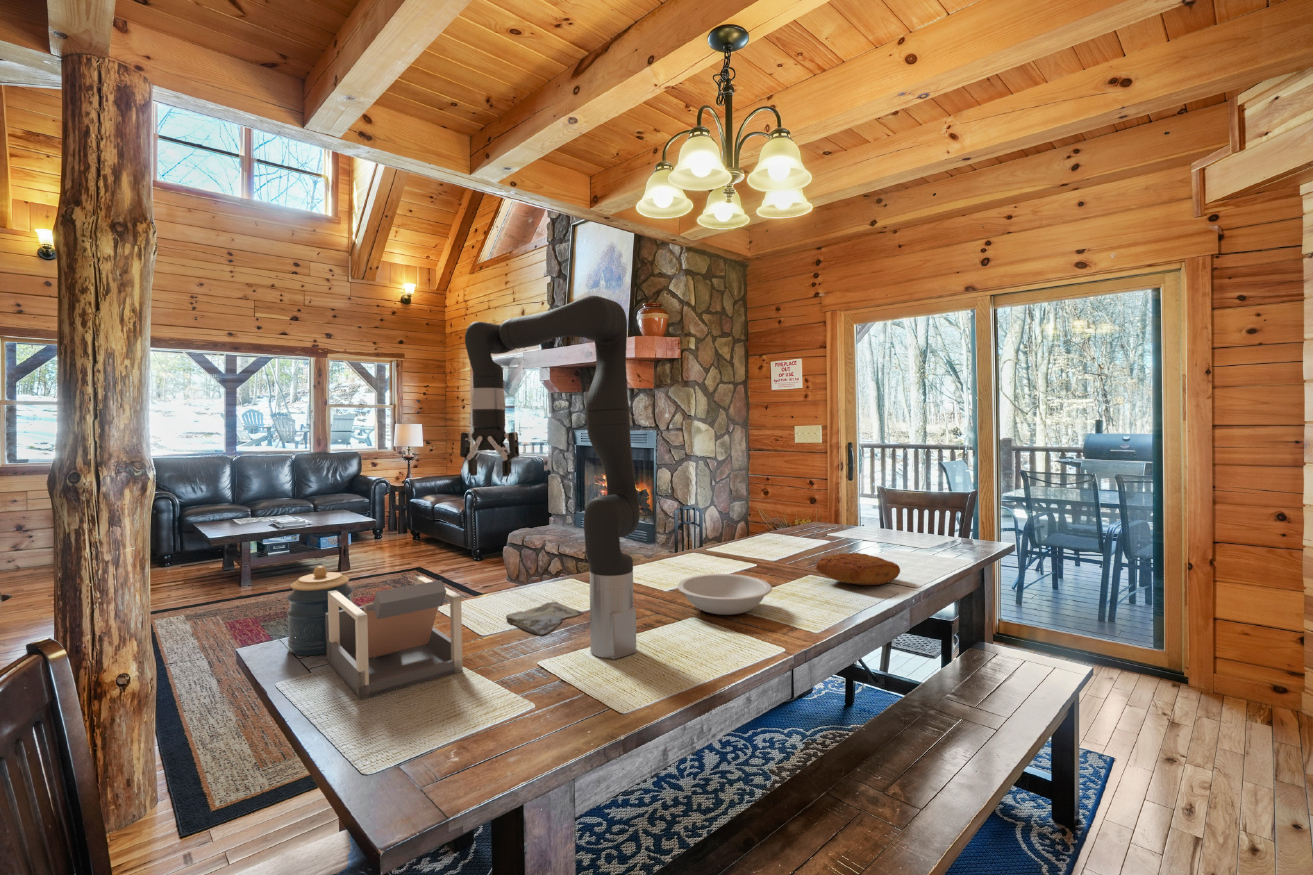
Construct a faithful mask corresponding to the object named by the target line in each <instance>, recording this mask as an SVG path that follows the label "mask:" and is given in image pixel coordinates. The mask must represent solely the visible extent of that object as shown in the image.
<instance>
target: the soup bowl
mask: <svg viewBox="0 0 1313 875" xmlns="http://www.w3.org/2000/svg"><path fill="white" fill-rule="evenodd" d="M677 589H678V590H679V592H681V593H682V594H684V596H685V597H686V598H687V600H688V602H690V604H692V605H693V606H694V607H696V608H697V609H699V610H701V611H703V612H705V613H710V614H714V615H724V616H725V615H728V616H729V615H731V616H732V615H738V614H739V615H740V614H743V613H746V612H749V611H751V610H753V609H754V608H755V607H757V606H759V604H761V602H762V601H763V600H764V598H765V597H766V596H768V595H769V594H770V593H771V592H772V590H773V588H772V585H771V584H770V583H769V582H767V581H766V580H763V579H761V578H757V577H753V576H748V575H744V574H743V575H742V574H733V573H711V574H710V573H709V574H700V575H695V576H690V577H686V578H684V579H682V580H680V581H679V582H678V583H677Z"/></svg>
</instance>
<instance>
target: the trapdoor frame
mask: <svg viewBox="0 0 1313 875" xmlns="http://www.w3.org/2000/svg"><path fill="white" fill-rule="evenodd" d="M433 581H434V580H431V579H430V578H428V577H427V576H424V575H418V576H414V585H416V584H422V583H428V582H433ZM445 589H446V594H445V598H444V599H445V600H446V599H447V600H449V609H450V610H449V612H450V616H449V618H450V619H449V620H450V637H449V636H447V635H446V634H445V633H444V632H442V631H440V630H439V629H437V628H436V627H434V626H433V629H432V632H431V636H430V639H429V643H428V644H425V645H421V646H416V647H412V648H408V649H404V650H400V651H397V652H394V653H391V654H388V655H385V656H382V657H379V658H376V659H375V657H371V658H368V624H367V614H366V613H365V612H364V607H363V605H362V606H358V605H356V604H355V603H354V604H353V603H352V602H351V601H350V600H348V599H347V598H346V597H345V596H343V595H342V594H341V593H339V592H338V591H337V590H334V591H329V592H328V613H325V620H326V654H325V657H326V659H325V660H326V662H327V664H328V665H329V666H330V667H331V668H332V669H333V671H334V672H335V673H336V674H337V675H338V676H339V678H340V679H341V680H342V681H343V682H344V684H345V685H346V687H348V688H349V690H350V691H351V692H352V693H353V694H354V695H355V696H356V698H357V699H358V700H360V701H361V700H365V699H368V698H372V697H374V696H379V695H382V694H385V693H391V692H393V691H396V690H401V689H404V688H407V687H411V686H414V685H417V684H422V683H425V682H428V681H432V680H435V679H439V678H443V677H446V676H450V675H454V674H457V673H460V672H463V633H462V632H463V623H462V595H461V594H459V593H457V592H455V591H453V590H451V589H449V588H447V587H445ZM339 606H340V607H341V608H342V609H343V610H340V611H339ZM355 654H356V659H355Z"/></svg>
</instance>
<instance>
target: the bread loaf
mask: <svg viewBox="0 0 1313 875" xmlns="http://www.w3.org/2000/svg"><path fill="white" fill-rule="evenodd" d="M815 570H816V571H817V572H818V573H819V574H821V575H824V576H826V577H829V578H830V579H832V580H836V581H838V582H843V583H846V584H853V585H857V586H858V585H859V586H878V585H883V584H884V585H885V584H887V583H891V582H892V581H894V580H896V578H898V576H899V574H900V573H901V568H900V565H898V564H897V563H895V562H893V561H889V560H888V559H884V558H882V557H879V556H873V555H871V554H868V553H867V554H866V553H860V552H850V553H848V552H842V553H838V554H830V555H827V556H823V557H821V558H820V559H819V560H818V561H817V563H816V566H815Z"/></svg>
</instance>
